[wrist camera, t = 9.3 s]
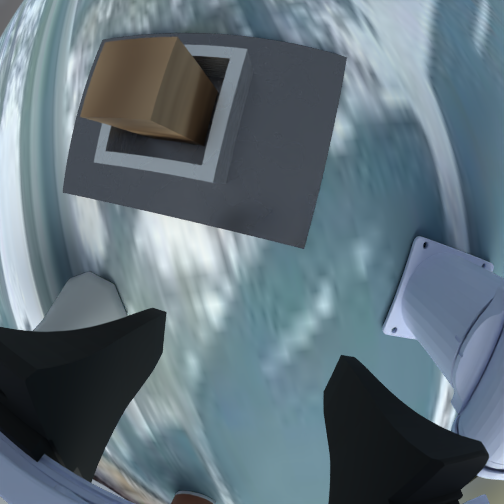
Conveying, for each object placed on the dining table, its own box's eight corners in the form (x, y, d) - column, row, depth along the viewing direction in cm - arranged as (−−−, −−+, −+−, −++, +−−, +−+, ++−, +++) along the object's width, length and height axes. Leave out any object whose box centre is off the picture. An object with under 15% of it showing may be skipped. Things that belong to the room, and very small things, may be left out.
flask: (64, 267, 22) (-14, 303, 12) (123, 273, 21) (41, 325, 12) (76, 334, 24) (15, 385, 14) (134, 348, 23) (75, 417, 13)
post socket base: (343, 62, 16) (358, 34, 12) (302, 245, 19) (308, 262, 15) (108, 43, 17) (80, 25, 12) (69, 191, 20) (34, 195, 16)
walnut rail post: (217, 91, 16) (177, 36, 9) (203, 146, 17) (150, 120, 10) (165, 86, 17) (105, 42, 9) (151, 138, 18) (79, 116, 10)
